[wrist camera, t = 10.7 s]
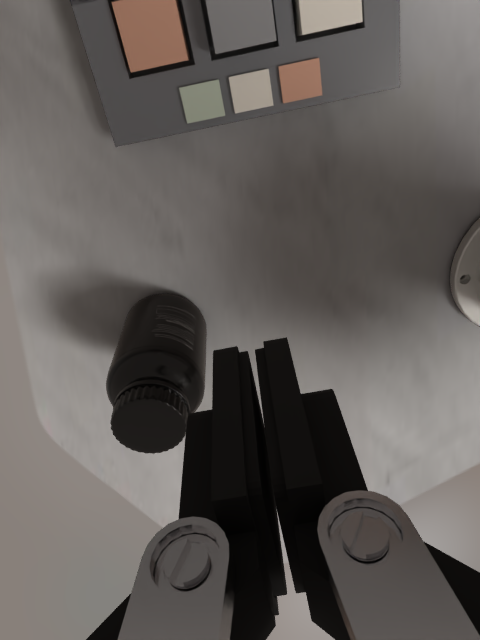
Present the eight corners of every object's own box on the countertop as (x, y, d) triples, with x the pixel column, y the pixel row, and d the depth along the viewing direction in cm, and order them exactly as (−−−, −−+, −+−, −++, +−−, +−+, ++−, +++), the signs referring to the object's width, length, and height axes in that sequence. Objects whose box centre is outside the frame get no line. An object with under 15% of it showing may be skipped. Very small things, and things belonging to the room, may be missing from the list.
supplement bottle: (109, 316, 38) (68, 415, 28) (175, 275, 36) (158, 364, 26) (159, 371, 41) (139, 479, 31) (222, 336, 39) (224, 437, 29)
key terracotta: (176, -7, 26) (172, -12, 24) (190, 59, 28) (188, 60, 26) (120, 6, 27) (111, 2, 25) (137, 71, 28) (130, 72, 26)
